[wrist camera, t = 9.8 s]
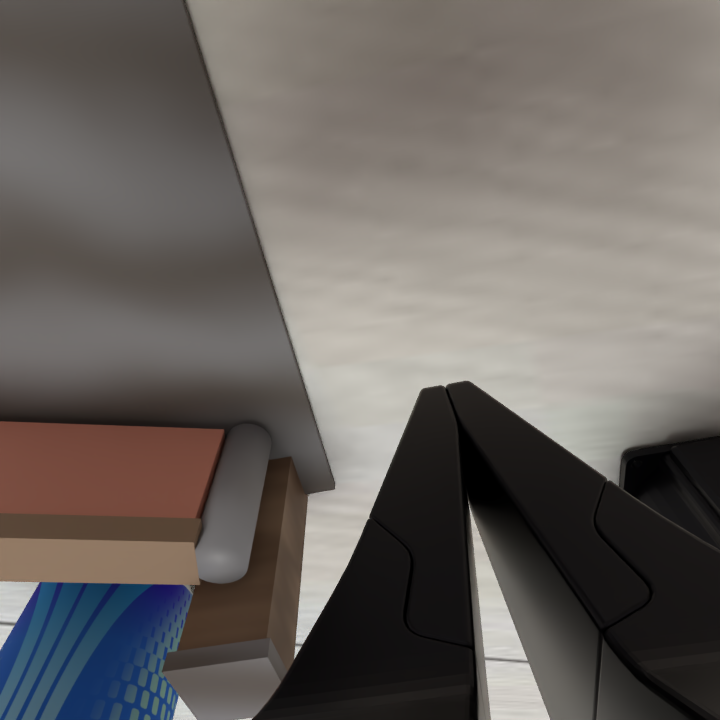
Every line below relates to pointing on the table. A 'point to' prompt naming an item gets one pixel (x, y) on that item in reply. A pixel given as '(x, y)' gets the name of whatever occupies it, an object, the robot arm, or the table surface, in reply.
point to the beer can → (93, 652)
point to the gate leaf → (129, 502)
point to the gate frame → (150, 296)
